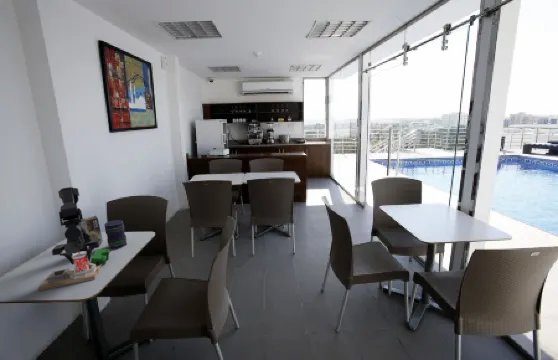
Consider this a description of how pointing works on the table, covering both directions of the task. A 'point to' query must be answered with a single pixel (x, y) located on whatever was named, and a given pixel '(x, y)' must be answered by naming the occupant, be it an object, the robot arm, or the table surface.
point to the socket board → (69, 277)
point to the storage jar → (115, 234)
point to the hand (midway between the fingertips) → (81, 262)
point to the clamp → (100, 256)
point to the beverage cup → (81, 261)
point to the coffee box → (92, 227)
